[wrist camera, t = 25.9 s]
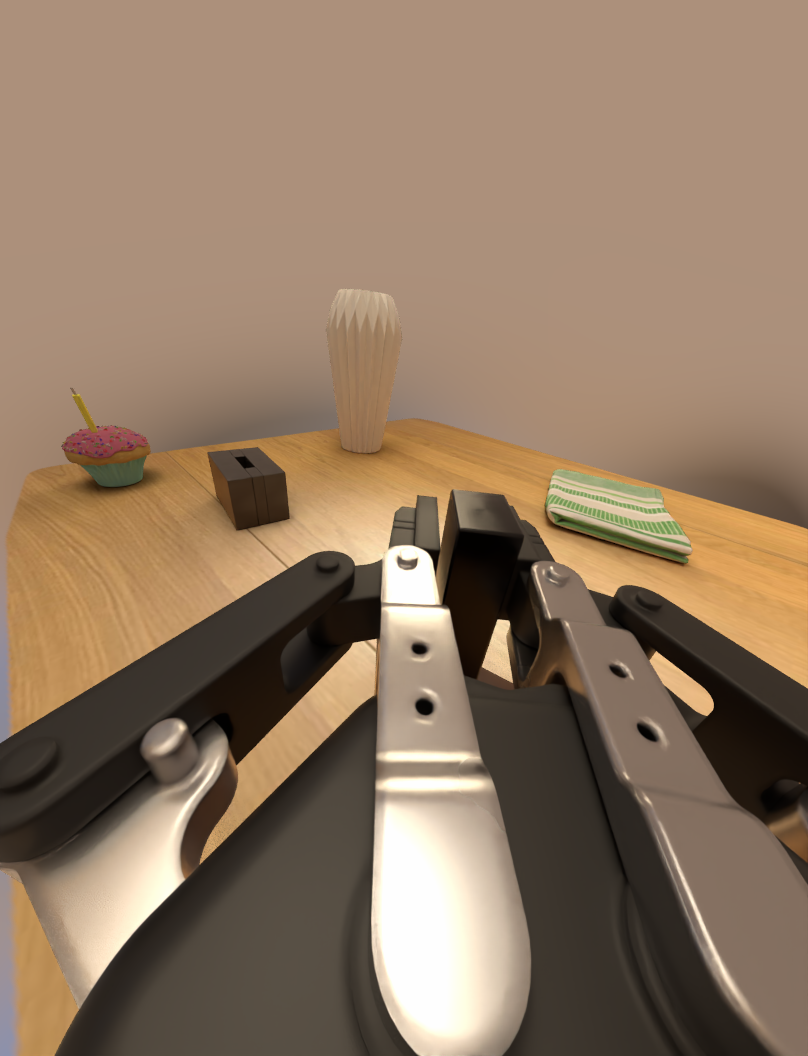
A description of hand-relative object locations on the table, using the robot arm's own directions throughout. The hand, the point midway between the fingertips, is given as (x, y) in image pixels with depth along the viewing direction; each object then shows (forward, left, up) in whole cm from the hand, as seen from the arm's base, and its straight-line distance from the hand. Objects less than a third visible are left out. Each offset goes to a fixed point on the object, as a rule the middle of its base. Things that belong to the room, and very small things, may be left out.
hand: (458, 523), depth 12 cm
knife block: (+12, +31, -14) cm, 36 cm away
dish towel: (+45, -9, -15) cm, 49 cm away
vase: (+43, +37, -15) cm, 59 cm away
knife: (-3, -1, -13) cm, 13 cm away
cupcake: (+6, +50, -15) cm, 52 cm away
